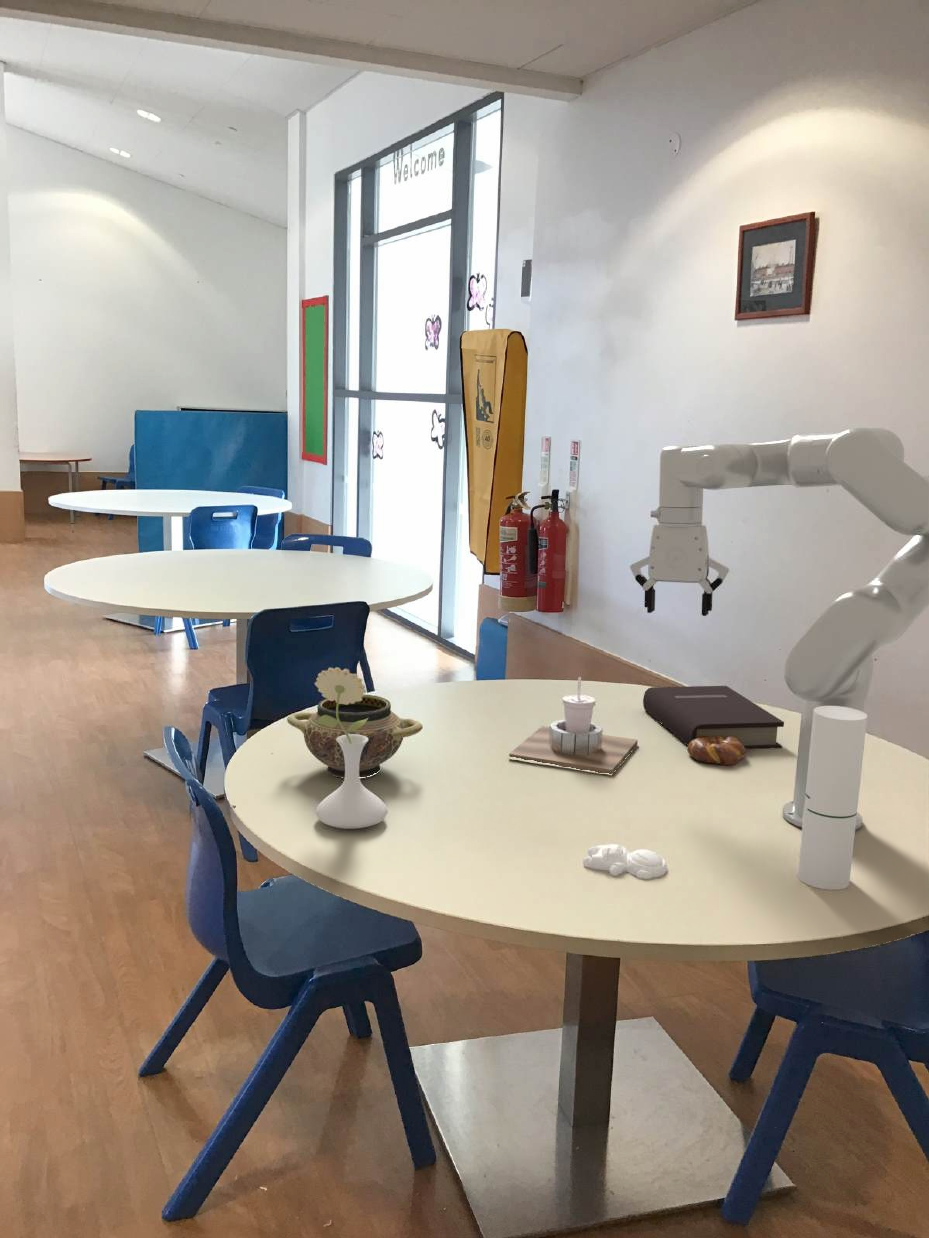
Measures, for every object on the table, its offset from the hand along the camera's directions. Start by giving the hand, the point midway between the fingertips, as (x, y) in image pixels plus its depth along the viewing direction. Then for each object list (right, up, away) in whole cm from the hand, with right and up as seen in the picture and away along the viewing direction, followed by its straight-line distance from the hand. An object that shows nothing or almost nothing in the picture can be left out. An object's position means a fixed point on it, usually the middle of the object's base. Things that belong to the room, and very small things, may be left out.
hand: (677, 613), depth 191 cm
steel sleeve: (-16, -26, +18) cm, 35 cm away
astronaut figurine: (-14, -38, -32) cm, 52 cm away
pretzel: (+11, -28, +18) cm, 35 cm away
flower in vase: (-57, -34, -19) cm, 69 cm away
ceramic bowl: (-58, -29, +4) cm, 65 cm away
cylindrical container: (+14, -39, -35) cm, 55 cm away
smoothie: (-16, -26, +18) cm, 35 cm away
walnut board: (-17, -27, +18) cm, 36 cm away
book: (+14, -25, +37) cm, 46 cm away
